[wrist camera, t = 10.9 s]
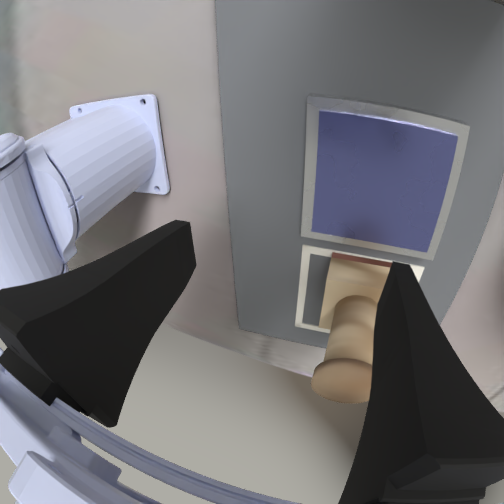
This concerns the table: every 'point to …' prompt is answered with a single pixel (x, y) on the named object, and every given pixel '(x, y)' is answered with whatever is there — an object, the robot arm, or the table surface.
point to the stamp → (349, 327)
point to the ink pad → (379, 174)
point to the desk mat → (355, 86)
